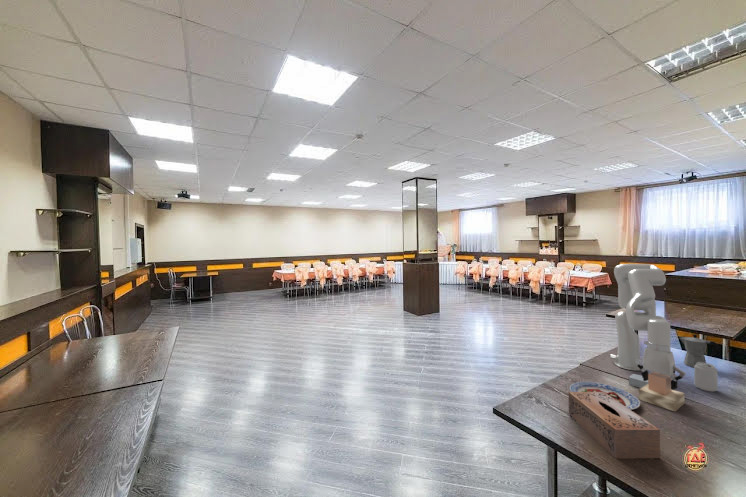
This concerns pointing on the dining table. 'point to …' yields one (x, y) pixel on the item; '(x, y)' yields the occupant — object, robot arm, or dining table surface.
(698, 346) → the coffeepot
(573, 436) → the dining table surface
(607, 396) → the tissue box cover
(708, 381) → the can
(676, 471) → the dining table surface
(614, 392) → the ceramic plate
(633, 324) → the robot arm
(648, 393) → the beech block
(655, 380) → the terracotta cube
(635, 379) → the slate block
